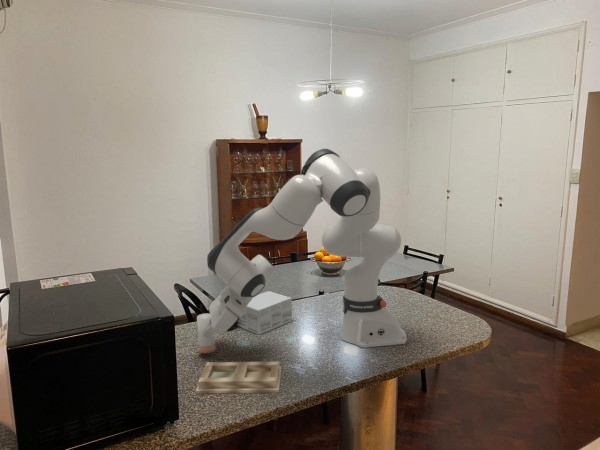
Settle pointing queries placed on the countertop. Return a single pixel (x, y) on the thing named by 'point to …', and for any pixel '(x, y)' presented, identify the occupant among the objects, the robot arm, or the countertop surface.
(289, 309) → the supplement box
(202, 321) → the white dome lamp
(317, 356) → the countertop surface
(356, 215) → the robot arm
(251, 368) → the two-pocket rack
